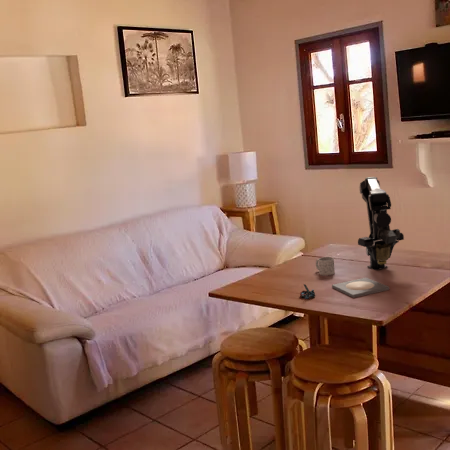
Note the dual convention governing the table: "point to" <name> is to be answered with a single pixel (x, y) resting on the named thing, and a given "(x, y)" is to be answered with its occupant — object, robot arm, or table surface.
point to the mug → (325, 266)
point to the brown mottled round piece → (382, 253)
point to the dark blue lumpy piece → (307, 293)
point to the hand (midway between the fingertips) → (382, 259)
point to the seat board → (360, 287)
